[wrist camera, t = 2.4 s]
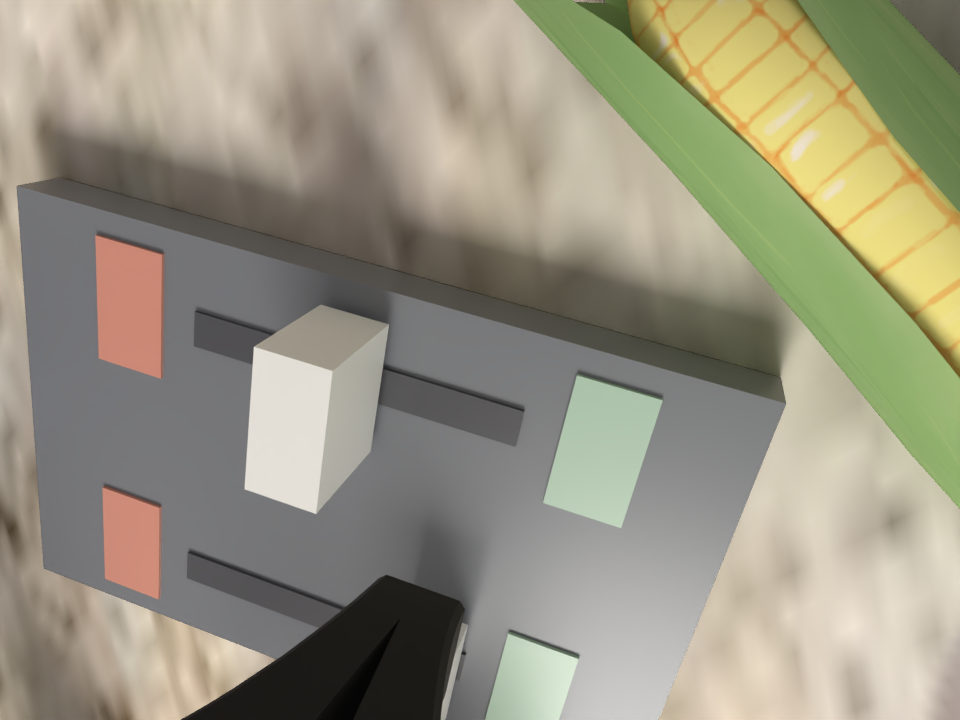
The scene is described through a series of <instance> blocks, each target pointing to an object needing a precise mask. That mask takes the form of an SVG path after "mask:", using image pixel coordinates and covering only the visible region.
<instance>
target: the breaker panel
mask: <svg viewBox="0 0 960 720" xmlns="http://www.w3.org/2000/svg"><path fill="white" fill-rule="evenodd" d="M17 197H18V211H19V225H20V239H21V253H22V267H23V281H24V295H25V309H26V323H27V338H28V352H29V366H30V380H31V394H32V408H33V422H34V436H35V450H36V464H37V479H38V493H39V507H40V521H41V535H42V549H43V563H44V569H46V570H49V571H52V572H54V573H57V574H59V575H62V576H64V577H67V578H70V579H72V580H75V581H77V582H80V583H82V584H85V585H88V586H90V587H93V588H95V589H98V590H100V591H103V592H106V593H108V594H111V595H113V596H116V597H118V598H121V599H123V600H126V601H129V602H131V603H134V604H136V605H139V606H141V607H144V608H147V609H149V610H152V611H154V612H157V613H159V614H162V615H165V616H167V617H170V618H172V619H175V620H177V621H180V622H183V623H185V624H188V625H190V626H193V627H195V628H198V629H200V630H203V631H206V632H208V633H211V634H213V635H216V636H218V637H221V638H224V639H226V640H229V641H231V642H234V643H236V644H239V645H242V646H244V647H247V648H249V649H252V650H254V651H257V652H260V653H262V654H265V655H267V656H270V657H272V658H275V659H278V658H279V657H281V656H282V655H284V654H285V653H286V652H288V651H289V650H291V649H292V648H293V647H295V646H296V645H297V644H299V643H300V642H301V641H303V640H304V639H305V638H307V637H308V636H309V635H311V634H312V633H313V632H315V631H316V630H317V629H319V628H320V627H321V626H323V625H324V624H325V623H326V622H328V621H329V620H330V619H331V618H333V617H334V616H335V615H336V614H338V613H339V612H340V611H341V610H343V609H344V608H345V607H346V606H347V605H349V604H350V603H351V602H352V601H353V600H355V599H356V598H357V597H358V596H359V595H360V594H361V593H363V592H364V591H365V590H366V589H367V588H368V587H370V586H371V585H372V584H373V583H374V582H375V581H376V580H377V579H378V578H380V577H382V576H385V575H389V576H392V577H395V578H398V579H400V580H403V581H406V582H409V583H412V584H414V585H417V586H420V587H423V588H426V589H428V590H431V591H434V592H437V593H440V594H442V595H445V596H448V597H451V598H453V599H456V600H459V601H460V602H461V603H462V605H463V607H464V608H465V612H464V616H463V621H462V623H464V624H467V625H468V627H467V632H466V636H465V640H464V644H463V648H462V653H461V657H460V661H459V665H458V670H457V674H456V678H455V682H454V687H453V691H452V695H451V699H450V704H449V708H448V712H447V716H446V719H445V720H659V718H660V715H661V713H662V710H663V708H664V705H665V703H666V700H667V698H668V695H669V693H670V690H671V688H672V685H673V683H674V681H675V678H676V676H677V673H678V671H679V668H680V666H681V663H682V661H683V658H684V656H685V653H686V651H687V648H688V646H689V643H690V641H691V638H692V636H693V633H694V631H695V628H696V626H697V623H698V621H699V618H700V616H701V614H702V611H703V609H704V606H705V604H706V601H707V599H708V596H709V594H710V591H711V589H712V586H713V584H714V581H715V579H716V576H717V574H718V571H719V569H720V566H721V564H722V561H723V559H724V556H725V554H726V552H727V549H728V547H729V544H730V542H731V539H732V537H733V534H734V532H735V529H736V527H737V524H738V522H739V519H740V517H741V514H742V512H743V509H744V507H745V504H746V502H747V499H748V497H749V494H750V492H751V490H752V487H753V485H754V482H755V480H756V477H757V475H758V472H759V470H760V467H761V465H762V462H763V460H764V457H765V455H766V452H767V450H768V447H769V445H770V442H771V440H772V437H773V435H774V432H775V430H776V428H777V425H778V423H779V420H780V418H781V415H782V413H783V410H784V408H785V405H786V401H785V396H784V391H783V386H782V381H781V377H777V376H774V375H770V374H767V373H763V372H759V371H756V370H752V369H749V368H745V367H741V366H738V365H734V364H731V363H727V362H723V361H720V360H716V359H712V358H709V357H705V356H702V355H698V354H694V353H691V352H687V351H684V350H680V349H676V348H673V347H669V346H666V345H662V344H658V343H655V342H651V341H648V340H644V339H640V338H637V337H633V336H630V335H626V334H622V333H619V332H615V331H612V330H608V329H604V328H601V327H597V326H594V325H590V324H586V323H583V322H579V321H575V320H572V319H568V318H565V317H561V316H557V315H554V314H550V313H547V312H543V311H539V310H536V309H532V308H529V307H525V306H521V305H518V304H514V303H511V302H507V301H503V300H500V299H496V298H493V297H489V296H485V295H482V294H478V293H475V292H471V291H467V290H464V289H460V288H456V287H453V286H449V285H446V284H442V283H438V282H435V281H431V280H428V279H424V278H420V277H417V276H413V275H410V274H406V273H402V272H399V271H395V270H392V269H388V268H384V267H381V266H377V265H374V264H370V263H366V262H363V261H359V260H356V259H352V258H348V257H345V256H341V255H338V254H334V253H330V252H327V251H323V250H319V249H316V248H312V247H309V246H305V245H301V244H298V243H294V242H291V241H287V240H283V239H280V238H276V237H273V236H269V235H265V234H262V233H258V232H255V231H251V230H247V229H244V228H240V227H237V226H233V225H229V224H226V223H222V222H219V221H215V220H211V219H208V218H204V217H201V216H197V215H193V214H190V213H186V212H182V211H179V210H175V209H172V208H168V207H164V206H161V205H157V204H154V203H150V202H146V201H143V200H139V199H136V198H132V197H128V196H125V195H121V194H118V193H114V192H110V191H107V190H103V189H100V188H96V187H92V186H89V185H85V184H82V183H78V182H74V181H71V180H67V179H64V178H56V179H50V180H45V181H40V182H34V183H29V184H24V185H18V186H17ZM319 305H324V306H328V307H331V308H335V309H338V310H341V311H345V312H348V313H352V314H355V315H359V316H362V317H365V318H369V319H372V320H376V321H379V322H383V323H386V324H389V329H388V336H387V343H386V349H385V356H384V363H383V370H382V377H381V384H380V390H379V397H378V404H377V411H376V418H375V425H374V432H373V438H372V445H371V452H370V453H369V454H368V455H367V456H366V457H365V458H364V460H363V461H362V462H361V463H360V464H359V465H358V467H357V468H356V469H355V470H354V471H353V472H352V473H351V475H350V476H349V477H348V478H347V479H346V480H345V481H344V483H343V484H342V485H341V486H340V487H339V488H338V489H337V491H336V492H335V493H334V494H333V495H332V496H331V498H330V499H329V500H328V501H327V502H326V503H325V504H324V506H323V507H322V508H321V509H320V510H319V511H318V512H317V514H314V513H312V512H309V511H306V510H303V509H300V508H297V507H294V506H291V505H289V504H286V503H283V502H280V501H277V500H274V499H271V498H268V497H266V496H263V495H260V494H257V493H254V492H251V491H248V490H245V473H246V458H247V443H248V428H249V413H250V398H251V383H252V368H253V352H254V346H256V345H257V344H259V343H261V342H262V341H264V340H265V339H267V338H269V337H270V336H272V335H273V334H275V333H276V332H278V331H280V330H281V329H283V328H284V327H286V326H288V325H289V324H291V323H292V322H294V321H295V320H297V319H299V318H300V317H302V316H303V315H305V314H307V313H308V312H310V311H311V310H313V309H314V308H316V307H318V306H319Z"/></svg>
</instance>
